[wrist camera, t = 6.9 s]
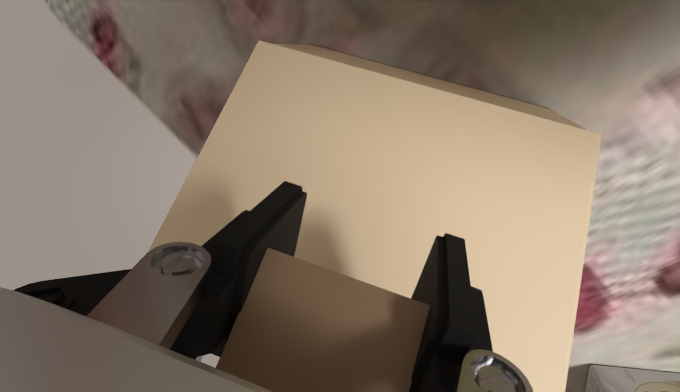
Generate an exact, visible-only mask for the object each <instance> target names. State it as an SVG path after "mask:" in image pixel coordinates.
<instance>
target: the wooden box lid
mask: <svg viewBox="0 0 680 392" xmlns="http://www.w3.org/2000/svg"><path fill="white" fill-rule="evenodd" d="M601 137H602V134H599V133H595V132H591V131H588V130H584V129H580V128H577V127H573V126H569V125H566V124H562V123H558V122H555V121H551V120H548V119H544V118H540V117H537V116H533V115H529V114H526V113H522V112H518V111H515V110H511V109H507V108H504V107H500V106H496V105H493V104H489V103H486V102H482V101H478V100H475V99H471V98H467V97H464V96H460V95H456V94H453V93H449V92H445V91H442V90H438V89H434V88H431V87H427V86H424V85H420V84H416V83H413V82H409V81H405V80H402V79H398V78H394V77H391V76H387V75H383V74H380V73H376V72H373V71H369V70H365V69H362V68H358V67H354V66H351V65H347V64H343V63H340V62H336V61H332V60H329V59H325V58H321V57H318V56H314V55H311V54H307V53H303V52H300V51H296V50H292V49H289V48H285V47H281V46H278V45H274V44H270V43H267V42H263V41H258V42H257V44H256V46H255V48H254V50H253V52H252V54H251V56H250V58H249V60H248V62H247V64H246V66H245V67H244V69H243V71H242V73H241V75H240V77H239V79H238V81H237V83H236V85H235V87H234V89H233V90H232V92H231V94H230V96H229V98H228V100H227V102H226V104H225V106H224V108H223V110H222V112H221V113H220V115H219V117H218V119H217V121H216V123H215V125H214V127H213V129H212V131H211V133H210V135H209V137H208V138H207V140H206V142H205V144H204V146H203V148H202V150H201V152H200V154H199V156H198V158H197V160H196V162H195V163H194V165H193V167H192V169H191V171H190V173H189V175H188V177H187V179H186V181H185V183H184V185H183V186H182V188H181V190H180V192H179V194H178V196H177V198H176V200H175V202H174V204H173V206H172V208H171V209H170V211H169V213H168V215H167V217H166V219H165V221H164V223H163V225H162V227H161V229H160V231H159V233H158V234H157V236H156V238H155V240H154V242H153V244H152V246H151V248H150V250H149V251H151V250H152V249H153V248H155V247H157V246H160V245H162V244H166V243H171V242H188V243H193V244H196V245H199V246H202V245H203V244H204V243H206V242H207V241H208V240H209V239H210V238H212V237H213V236H214V235H215V234H216V233H217V232H219V231H220V230H221V229H222V228H223V227H225V226H226V225H227V224H228V223H229V222H231V221H232V220H233V219H234V218H235V217H237V216H238V215H239V214H240V213H241V212H243V211H245V210H249V211H250V210H252V209H253V208H254V207H255V206H256V205H257V204H259V203H260V202H261V201H262V200H263V199H264V198H266V197H267V196H268V195H269V194H270V193H271V192H272V191H274V190H275V189H276V188H277V187H278V186H279V185H281V184H282V183H283V182H284V181H287V182H290V183H293V184H296V185H299V186H302V191H303V192H306V193H307V198H306V203H305V208H304V212H303V217H302V222H301V227H300V231H299V236H298V241H297V246H296V250H295V255H294V257H293V256H290V255H287V254H285V253H282V252H279V251H276V250H273V249H271V248H267V250H266V253H265V255H264V258H263V260H262V262H261V265H260V267H259V270H258V272H257V274H256V277H255V279H254V282H253V284H252V286H251V289H250V291H249V294H248V296H247V298H246V301H245V303H244V306H243V308H242V310H241V313H239V314H238V316H237V319H236V321H235V323H234V326H233V328H232V331H231V333H230V335H229V338H228V340H227V342H226V345H225V347H224V350H223V352H222V354H221V357H220V359H219V361H218V364H217V366H216V368H217V369H219V370H221V371H224V372H226V373H229V374H231V375H234V376H236V377H239V378H241V379H243V380H246V381H248V382H251V383H253V384H256V385H258V386H261V387H263V388H265V389H268V390H270V391H273V392H409V390H410V386H411V382H412V379H411V377H412V373H413V369H414V365H415V361H416V358H417V354H418V350H419V346H420V342H421V339H422V335H423V331H424V327H425V323H426V319H427V316H428V312H429V308H430V305H428V304H425V303H422V302H419V301H416V300H414V299H411V297H412V295H413V293H414V290H415V288H416V285H417V283H418V280H419V278H420V275H421V273H422V270H423V268H424V265H425V263H426V260H427V258H428V255H429V253H430V250H431V248H432V245H433V243H434V241H435V238H436V236H437V235H438V236H441V237H443V236H444V234H445V233H448V234H451V235H454V236H457V237H460V238H463V239H465V246H466V253H467V261H468V269H469V276H470V284H471V286H472V287H474V288H477V289H480V290H481V291H482V293H483V298H484V303H485V309H486V315H487V320H488V326H489V332H490V338H491V343H492V349H493V352H494V353H497V354H499V355H501V356H503V357H504V358H506V359H508V360H509V361H511V362H512V363H513V364H514V365H515V366H516V367H518V368H519V369H520V370H521V372H522V373H523V374H524V375H525V376H526V378H527V379H528V381H529V383H530V384H531V386H532V388H533V392H565V389H566V382H567V375H568V368H569V361H570V354H571V347H572V340H573V333H574V326H575V319H576V312H577V305H578V298H579V291H580V284H581V277H582V270H583V263H584V256H585V249H586V242H587V235H588V228H589V221H590V214H591V207H592V200H593V193H594V186H595V179H596V172H597V165H598V158H599V151H600V144H601Z"/></svg>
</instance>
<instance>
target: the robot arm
mask: <svg viewBox="0 0 680 392" xmlns="http://www.w3.org/2000/svg"><path fill="white" fill-rule="evenodd" d="M306 198H307V193H306V192H303V191H302V186H299V185H296V184H293V183H290V182H287V181H284V182H283V183H282V184H281V185H279V186H278V187H277V188H276V189H275V190H274V191H272V192H271V193H270V194H269V195H268V196H267V197H266V198H264V199H263V200H262V201H261V202H260V203H259V204H257V205H256V206H255V207H254V208H253V209H252V210H250V211H249V210H245V211H243V212H241V213H240V214H239V215H238V216H237V217H235V218H234V219H233V220H232V221H231V222H229V223H228V224H227V225H226V226H225V227H223V228H222V229H221V230H220V231H219V232H217V233H216V234H215V235H214V236H213V237H212V238H210V239H209V240H208V241H207V242H206V243H204V244H203V245H202V246H199V245H196V244H193V243H188V242H171V243H166V244H162V245H160V246H157V247H155V248H153V249H152V250H151V251H149V252H148V253H147V254H146V255H145V256H144V257H143V258H142V259H141V260H140V261H139V262H138V263H137V264H136V265H135V266H134V267H133V268H132V269H129V270H121V271H114V272H107V273H99V274H91V275H84V276H76V277H69V278H61V279H54V280H47V281H41V282H36V283H31V284H28V285H25V286H22V287H20V288H17V289H15V290H9V289H5V288H1V287H0V392H273V391H270V390H268V389H265V388H263V387H261V386H258V385H256V384H253V383H251V382H248V381H246V380H243V379H241V378H239V377H236V376H234V375H231V374H229V373H226V372H224V371H221V370H219V369H217V368H214V367H212V366H209V365H207V364H204V363H202V362H201V359H202V356H203V355H206V354H210V353H211V354H214V355H216V356H219V357H221V354H222V352H223V350H224V347H225V345H226V342H227V340H228V338H229V335H230V333H231V331H232V328H233V326H234V323H235V321H236V319H237V316H238V314H239V313H241V310H242V308H243V306H244V303H245V301H246V298H247V296H248V294H249V291H250V289H251V286H252V284H253V282H254V279H255V277H256V274H257V272H258V270H259V267H260V265H261V262H262V260H263V258H264V255H265V253H266V250H267V248H271V249H273V250H276V251H279V252H282V253H285V254H287V255H290V256H293V257H294V255H295V250H296V246H297V241H298V236H299V231H300V227H301V222H302V217H303V212H304V208H305V203H306ZM411 299H414V300H416V301H419V302H422V303H425V304H428V305H430V308H429V312H428V316H427V319H426V323H425V327H424V331H423V335H422V339H421V342H420V346H419V350H418V354H417V358H416V361H415V365H414V369H413V373H412V377H411V379H412V382H411V386H410V390H409V392H533V388H532V386H531V384H530V383H529V381H528V379H527V378H526V376H525V375H524V374H523V373H522V372H521V370H520V369H519V368H518V367H516V366H515V365H514V364H513V363H512V362H511V361H509V360H508V359H506V358H504V357H503V356H501V355H499V354H497V353H494V352H493V349H492V343H491V338H490V332H489V326H488V320H487V315H486V309H485V303H484V298H483V293H482V291H481V290H480V289H477V288H474V287H472V286H471V284H470V276H469V269H468V261H467V253H466V246H465V239H463V238H460V237H457V236H454V235H451V234H448V233H445V234H444V236H443V237H441V236H438V235H437V236H436V238H435V241H434V243H433V245H432V248H431V250H430V253H429V255H428V258H427V260H426V263H425V265H424V268H423V270H422V273H421V275H420V278H419V280H418V283H417V285H416V288H415V290H414V293H413V295H412V297H411Z"/></svg>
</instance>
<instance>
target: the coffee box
mask: <svg viewBox="0 0 680 392" xmlns="http://www.w3.org/2000/svg"><path fill="white" fill-rule="evenodd" d="M585 392H680V373H672V372H662V371H652V370H642V369H632V368H621V367H611V366H600V365H590V367H589V372H588V378H587V384H586V390H585Z"/></svg>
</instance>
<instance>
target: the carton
mask: <svg viewBox="0 0 680 392" xmlns="http://www.w3.org/2000/svg"><path fill="white" fill-rule="evenodd" d="M274 45H278V46H281V47H285V48H289V49H292V50H296V51H300V52H303V53H307V54H311V55H314V56H318V57H321V58H325V59H329V60H332V61H336V62H340V63H343V64H347V65H351V66H354V67H358V68H362V69H365V70H369V71H373V72H376V73H380V74H383V75H387V76H391V77H394V78H398V79H402V80H405V81H409V82H413V83H416V84H420V85H424V86H427V87H431V88H434V89H438V90H442V91H445V92H449V93H453V94H456V95H460V96H464V97H467V98H471V99H475V100H478V101H482V102H486V103H489V104H493V105H496V106H500V107H504V108H507V109H511V110H515V111H518V112H522V113H526V114H529V115H533V116H537V117H540V118H544V119H548V120H551V121H555V122H558V123H562V124H566V125H569V126H573V127H577V128H580V129H584V128H582V127H581V126H579V125H577V124H575V123H574V122H572V121H570V120H568V119H567V118H565V117H563V116H561V115H559V114H558V113H556V112H554V111H552V110H551V109H549V108H546V107H542V106H538V105H534V104H531V103H527V102H523V101H520V100H516V99H512V98H509V97H505V96H501V95H497V94H494V93H490V92H486V91H483V90H479V89H475V88H472V87H468V86H464V85H460V84H457V83H453V82H449V81H446V80H442V79H438V78H434V77H431V76H427V75H423V74H420V73H416V72H412V71H409V70H405V69H401V68H397V67H394V66H390V65H386V64H383V63H379V62H375V61H372V60H368V59H364V58H360V57H357V56H353V55H349V54H346V53H342V52H338V51H335V50H331V49H327V48H323V47H320V46H316V45H312V44H274ZM584 130H586V129H584Z"/></svg>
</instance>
